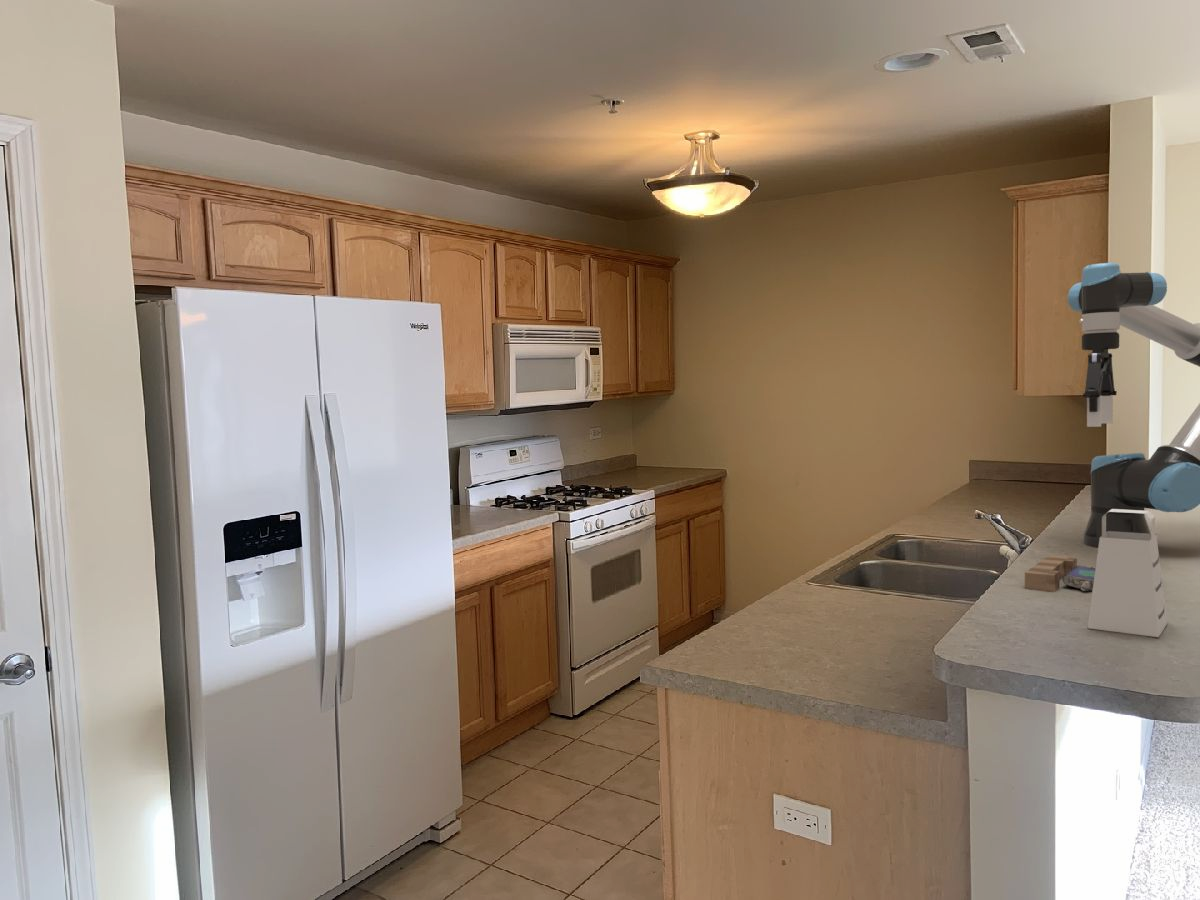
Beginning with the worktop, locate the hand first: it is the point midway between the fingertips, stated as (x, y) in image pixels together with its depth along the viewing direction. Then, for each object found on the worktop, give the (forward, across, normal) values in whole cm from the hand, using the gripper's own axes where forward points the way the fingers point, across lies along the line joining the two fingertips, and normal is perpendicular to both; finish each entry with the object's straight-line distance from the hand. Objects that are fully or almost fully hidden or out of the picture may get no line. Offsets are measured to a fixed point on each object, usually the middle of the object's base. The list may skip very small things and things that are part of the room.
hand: (1100, 425), depth 205 cm
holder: (+32, +27, +4) cm, 42 cm away
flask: (+33, +25, +4) cm, 41 cm away
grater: (+32, +57, +14) cm, 67 cm away
